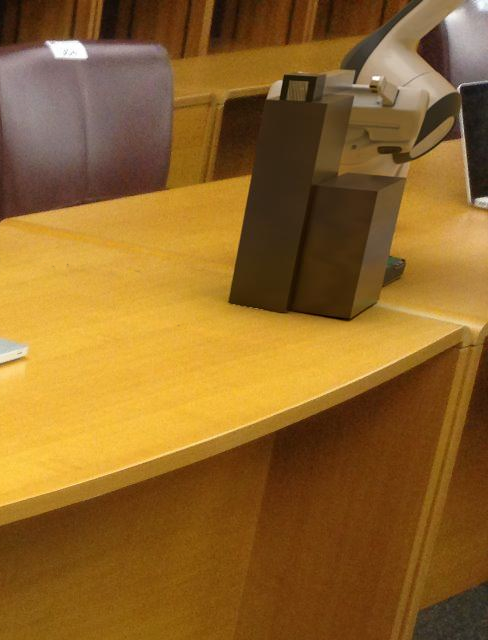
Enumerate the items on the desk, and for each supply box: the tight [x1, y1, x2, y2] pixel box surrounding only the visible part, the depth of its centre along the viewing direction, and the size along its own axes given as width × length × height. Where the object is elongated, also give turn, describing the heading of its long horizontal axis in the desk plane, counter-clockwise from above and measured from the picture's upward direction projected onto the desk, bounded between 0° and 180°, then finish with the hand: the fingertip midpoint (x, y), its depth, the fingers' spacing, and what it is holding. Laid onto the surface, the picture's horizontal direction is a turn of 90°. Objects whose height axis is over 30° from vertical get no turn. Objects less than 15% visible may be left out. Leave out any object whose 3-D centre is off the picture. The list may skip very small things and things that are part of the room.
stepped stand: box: [227, 94, 407, 320], centre depth 200 cm, size 15×16×26 cm
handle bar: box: [279, 68, 355, 102], centre depth 197 cm, size 4×20×3 cm, turn 141°
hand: (338, 78), depth 202 cm, fingers open, 8 cm apart
